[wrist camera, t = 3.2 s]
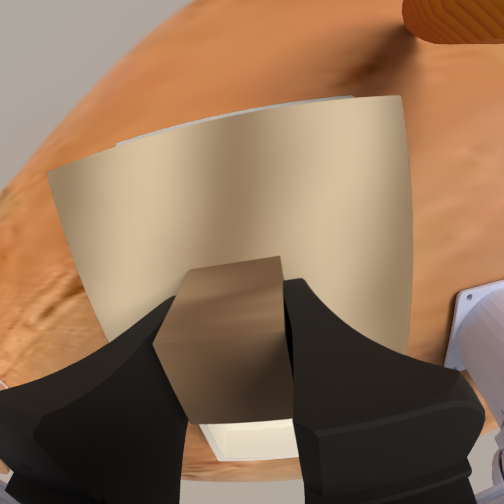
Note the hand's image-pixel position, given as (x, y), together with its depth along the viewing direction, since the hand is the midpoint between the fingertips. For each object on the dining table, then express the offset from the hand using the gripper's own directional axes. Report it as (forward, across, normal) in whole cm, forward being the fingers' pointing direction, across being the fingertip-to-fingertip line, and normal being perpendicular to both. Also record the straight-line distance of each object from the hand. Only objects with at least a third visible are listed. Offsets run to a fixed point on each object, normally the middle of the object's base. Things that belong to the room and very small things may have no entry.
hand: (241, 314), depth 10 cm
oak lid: (+2, 0, 0) cm, 2 cm away
